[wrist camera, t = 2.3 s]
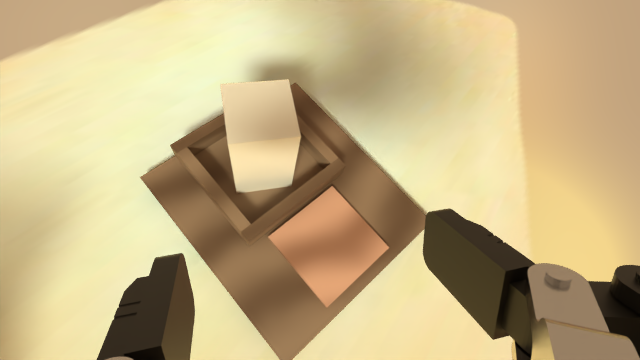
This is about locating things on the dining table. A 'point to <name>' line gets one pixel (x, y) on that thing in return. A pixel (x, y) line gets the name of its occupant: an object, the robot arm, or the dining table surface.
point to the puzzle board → (288, 225)
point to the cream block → (261, 133)
